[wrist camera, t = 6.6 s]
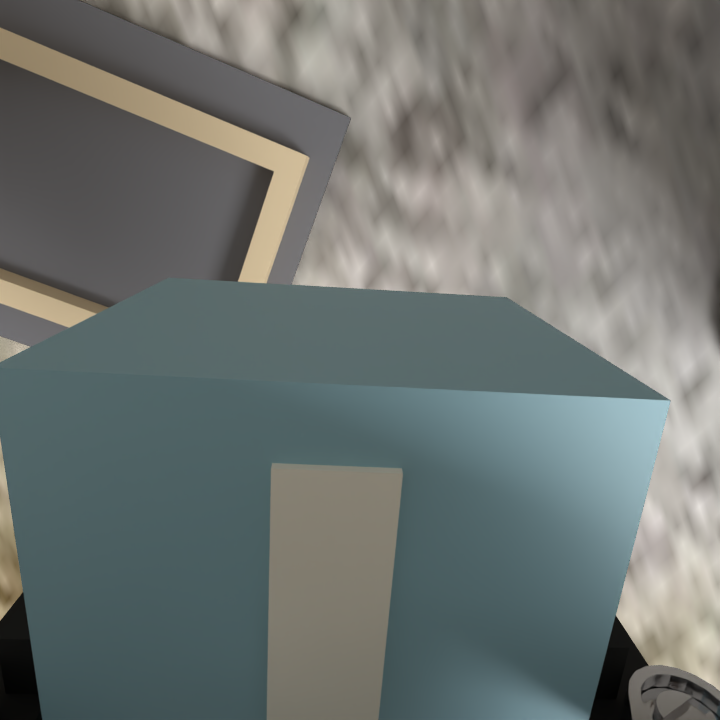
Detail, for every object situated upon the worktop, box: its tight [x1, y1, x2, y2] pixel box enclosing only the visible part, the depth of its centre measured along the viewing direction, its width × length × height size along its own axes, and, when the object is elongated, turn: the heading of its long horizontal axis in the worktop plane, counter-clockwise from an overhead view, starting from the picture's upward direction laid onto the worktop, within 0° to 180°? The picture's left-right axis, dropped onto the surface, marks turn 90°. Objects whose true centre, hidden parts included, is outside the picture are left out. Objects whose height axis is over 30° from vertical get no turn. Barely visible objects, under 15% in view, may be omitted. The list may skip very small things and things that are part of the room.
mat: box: [0, 0, 351, 347], centre depth 22 cm, size 16×14×2 cm
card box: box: [0, 278, 671, 720], centre depth 9 cm, size 10×6×5 cm, turn 176°
